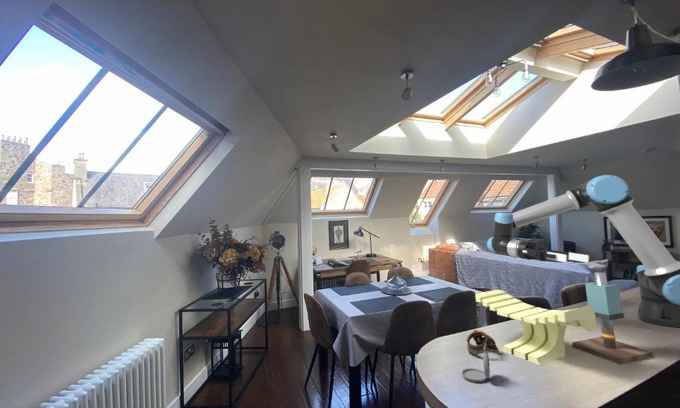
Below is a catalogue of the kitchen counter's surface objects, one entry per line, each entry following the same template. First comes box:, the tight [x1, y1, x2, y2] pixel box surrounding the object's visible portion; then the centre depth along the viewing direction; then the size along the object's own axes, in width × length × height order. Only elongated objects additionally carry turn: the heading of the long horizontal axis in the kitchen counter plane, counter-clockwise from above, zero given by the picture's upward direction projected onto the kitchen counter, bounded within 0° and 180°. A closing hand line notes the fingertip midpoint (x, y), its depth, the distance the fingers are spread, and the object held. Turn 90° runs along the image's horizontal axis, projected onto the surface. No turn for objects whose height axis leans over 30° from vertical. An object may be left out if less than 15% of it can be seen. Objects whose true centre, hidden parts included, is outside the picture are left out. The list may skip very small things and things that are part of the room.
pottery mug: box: [466, 329, 500, 356], centre depth 99 cm, size 12×10×8 cm
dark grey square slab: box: [594, 312, 625, 321], centre depth 95 cm, size 6×6×2 cm
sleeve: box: [584, 281, 623, 315], centre depth 96 cm, size 6×6×9 cm
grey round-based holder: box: [461, 343, 491, 383], centre depth 83 cm, size 8×8×10 cm
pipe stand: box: [571, 271, 654, 365], centre depth 95 cm, size 14×14×26 cm
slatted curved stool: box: [475, 289, 598, 366], centre depth 98 cm, size 30×16×18 cm, turn 25°
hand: (577, 258), depth 105 cm, fingers open, 13 cm apart
